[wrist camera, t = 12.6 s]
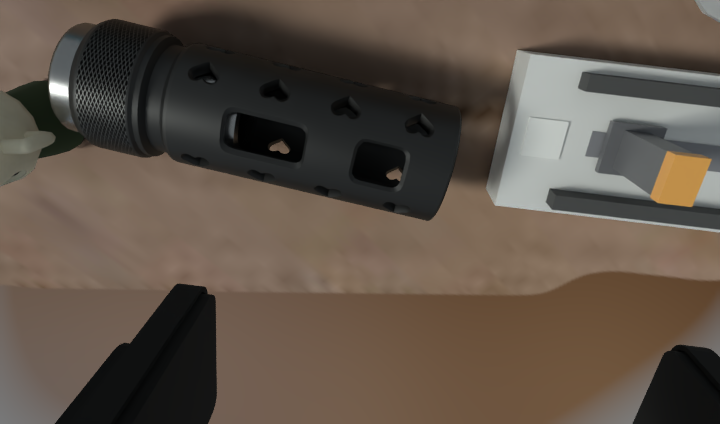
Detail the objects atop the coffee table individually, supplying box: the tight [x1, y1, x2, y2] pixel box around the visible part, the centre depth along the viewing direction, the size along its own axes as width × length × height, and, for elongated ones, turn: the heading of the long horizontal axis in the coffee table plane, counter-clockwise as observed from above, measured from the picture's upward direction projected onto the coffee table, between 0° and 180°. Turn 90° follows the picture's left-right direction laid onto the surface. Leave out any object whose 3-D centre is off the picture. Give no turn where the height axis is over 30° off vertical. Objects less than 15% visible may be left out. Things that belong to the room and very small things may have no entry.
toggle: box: [595, 120, 712, 207], centre depth 34 cm, size 4×4×8 cm
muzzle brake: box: [48, 19, 461, 221], centre depth 37 cm, size 10×28×10 cm, turn 77°
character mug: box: [0, 81, 84, 186], centre depth 37 cm, size 11×7×13 cm, turn 92°
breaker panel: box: [486, 50, 720, 232], centre depth 39 cm, size 12×26×4 cm, turn 84°
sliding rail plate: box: [546, 72, 720, 230], centre depth 37 cm, size 10×18×2 cm, turn 84°
